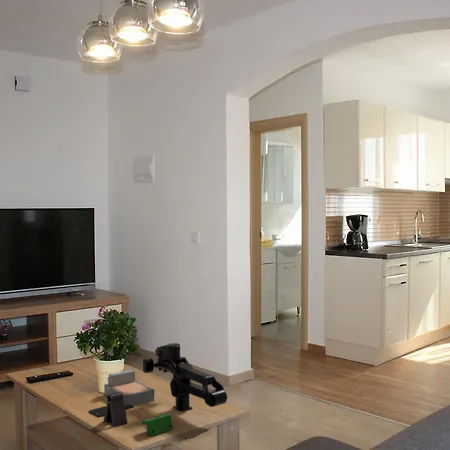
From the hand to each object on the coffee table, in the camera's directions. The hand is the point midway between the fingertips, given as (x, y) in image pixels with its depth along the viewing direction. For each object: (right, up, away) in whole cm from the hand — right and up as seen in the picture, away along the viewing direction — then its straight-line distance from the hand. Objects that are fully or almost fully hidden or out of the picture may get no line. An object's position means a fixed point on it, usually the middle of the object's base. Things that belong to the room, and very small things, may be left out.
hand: (151, 359), depth 270 cm
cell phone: (-15, -18, -21) cm, 31 cm away
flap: (-10, -16, -5) cm, 20 cm away
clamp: (+8, -18, -44) cm, 49 cm away
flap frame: (-10, -17, -5) cm, 20 cm away
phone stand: (-10, -18, -36) cm, 41 cm away
